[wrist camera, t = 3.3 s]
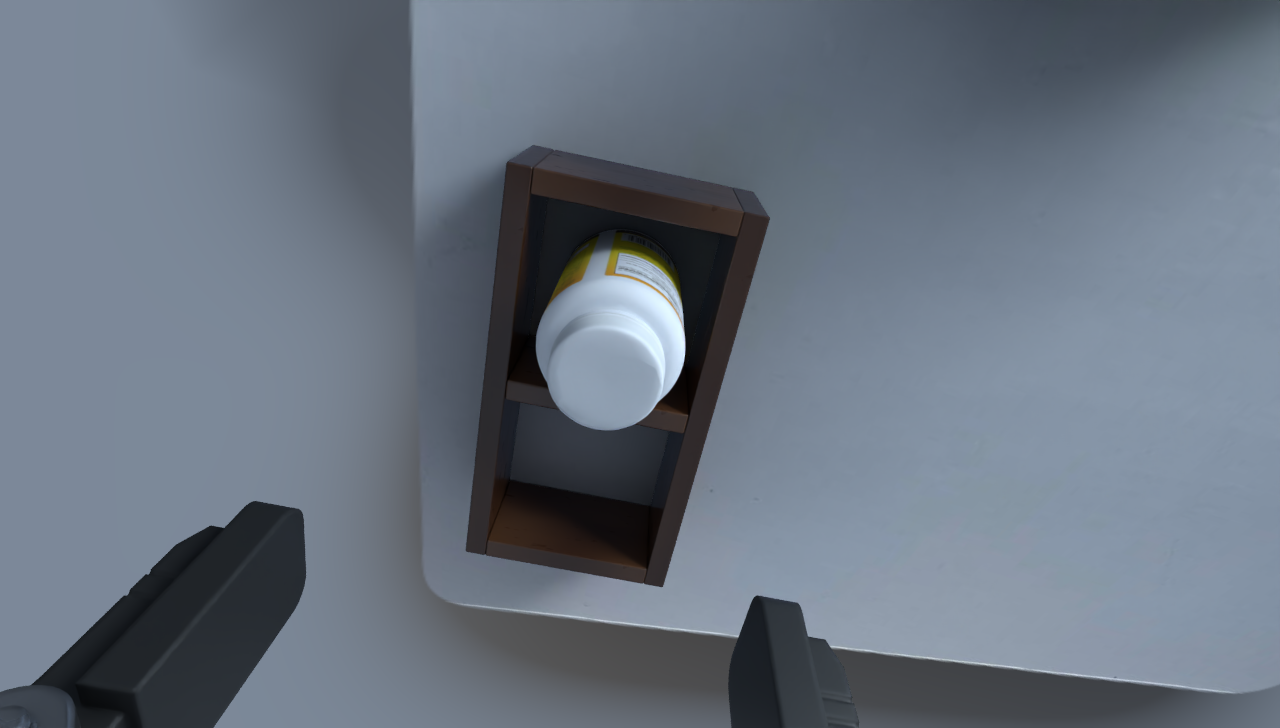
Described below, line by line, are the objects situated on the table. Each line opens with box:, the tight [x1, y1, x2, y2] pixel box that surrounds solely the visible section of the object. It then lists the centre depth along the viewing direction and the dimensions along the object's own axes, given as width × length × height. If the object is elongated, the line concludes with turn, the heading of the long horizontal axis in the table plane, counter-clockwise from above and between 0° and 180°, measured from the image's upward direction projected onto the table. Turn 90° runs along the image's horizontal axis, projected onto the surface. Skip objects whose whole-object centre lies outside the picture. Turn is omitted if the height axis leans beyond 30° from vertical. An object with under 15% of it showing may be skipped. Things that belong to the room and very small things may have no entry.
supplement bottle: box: [536, 229, 685, 430], centre depth 26 cm, size 6×6×10 cm
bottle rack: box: [466, 145, 770, 587], centre depth 30 cm, size 10×19×5 cm, turn 169°
